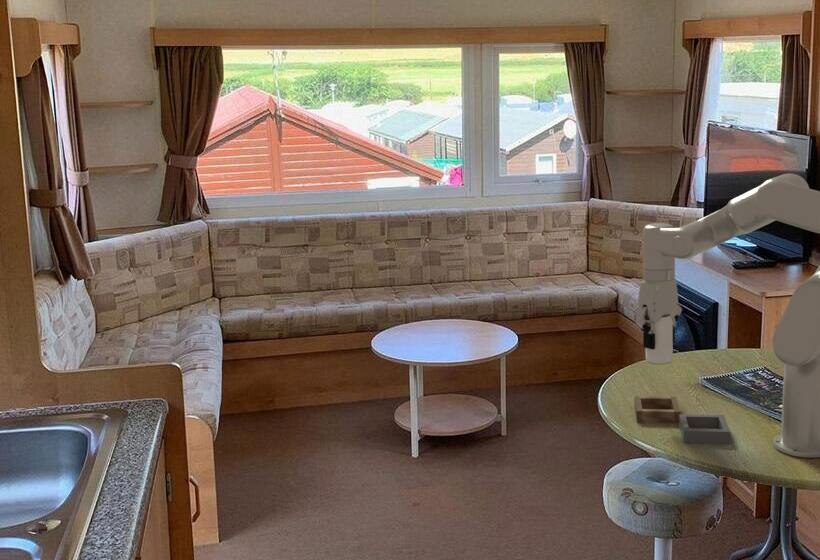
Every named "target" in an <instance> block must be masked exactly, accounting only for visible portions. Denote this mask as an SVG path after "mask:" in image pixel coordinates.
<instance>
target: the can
mask: <svg viewBox="0 0 820 560" xmlns="http://www.w3.org/2000/svg"><path fill="white" fill-rule="evenodd" d="M670 315H671V314H670ZM670 315H669V316H666V317H661V319H660V321H658V322H656V323H655V328H654V331H653V333H654V334H655V349H653V350H652V349H648V348H645V360H646V362H648V364H652V365H667V364H670V363H671V362H672V361H673V358H674V357H673V353H674V351H673V350H674V349H673V345H674V343H673V322H672V318H671V316H670ZM648 320H650V318H648ZM650 324H651V323H648V327H650Z"/></svg>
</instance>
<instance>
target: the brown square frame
mask: <svg viewBox="0 0 820 560" xmlns="http://www.w3.org/2000/svg"><path fill="white" fill-rule="evenodd" d="M633 407H634V413H635V421H636V423H645V424H646V423H647V424H649V423H650V424H651V423H654V424H679V414H681V409H680V405H679V402H678V398H677V396H657V395H656V396H652V395H651V396H649V395H647V396H646V395H645V396H644V395H643V396H641V395H635V396H634V406H633Z"/></svg>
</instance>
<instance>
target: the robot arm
mask: <svg viewBox="0 0 820 560" xmlns="http://www.w3.org/2000/svg"><path fill="white" fill-rule="evenodd" d="M775 221H777V222H781V223H783V224H787V225H790V226H793V227H797V228H800V229H803V230H806V231H809V232H813V233H816V234H820V190H816V189H812V188H810V187H809V184H808V182H807V181H806V180H805V178H803V177H802V176H800V175H798V174H795V173H783V174H781V175H778V176H775V177H772V178H769V179H767V180H765V181H764V182H763V183H761V184H760V185H758V186H757V187H754V188H752V189H750V190H748V191H746V192H744V193H743V194H740V195H739V196H736V197H734V198H732V199H730V200H729V201H728V202H727V204H726V205H725V206H724V207H722V208H721V209H718V210H716V211H714V212H712V213H710V214H709V215H706V216H704V217H702V218H700V219H697V220H696V221H693V222H690V223H688V224H687V223H686V224H685V225H683V226H679V227H674V226H673V225H672V224H671V223H663V222H654V223H648V224H646V225H644V226H643V229H642V280H641V281H640V285H639V290H638V297H637V298H638V299H637V317H636V318H635V321H634V322H635V324H636V325H637V326H638V328H639V329H640V330H641V332H642V333H643V335H642V336H643V338H642V339H643V341H642V342H643V345H642V346H643V347H644V348H645V349H646V348H648V349H652V350H653V349H655V334H654V333H653V331H654V328H655V323H656V322H658V321H660V319H661V317H666V316H669V315H670V314H671V315H670V316H671V318H672V322H673V344H674V343H675V340H676V339H675V337H676V336H675V334H676V333H675V332H676V331H675V329H676V327H677V322H678V320H679V316H680V315H681V313H682V311H683V308H682V307H681V306H680V305H679V293H678V285H677V279H676V259H679V260H681V259H682V260H687V259H688V260H689V259H692V258H693V257H696V256H698V255H700V254H702V253H705V252H707V251H709V250H710V249H713V248H716V247H717V246H719V245H721V244H724V243H726V242H728V241H730V240H732V239H735V238H736V237H739V236H741V235H747V234H750V233H751V232H754V231H756V230H759V229H760V228H762V227H764V226H767V225H769V224H771V223H773V222H775ZM648 318H650V320H648ZM648 323H651V324H650V327H648ZM771 347H772V350H773V353H774V355H775V356H776V358H777V359H778V360H779V362H781V363H782V364H784V371H783V379H782V380H783V381H782V386H783V387H782V407H781V427H780V428H781V429H780V430H781V431H780V433H779V434H777V435H776V436H774V438H773V441H772V442H773V443H772V444H773V446H774V447H775V449H777V450H778V451H780V453H784V454H787V455H790V456H793V457H796V458H797V457H798V458H806V459H807V458H808V459H810V458H811V459H813V458H814V459H815V458H820V264H819V265H818V267H817V269H816V270H815V272H814V274H812V275H811V276H810V277H809V278H807V279H805V280H804V281H803V282H801V283H800V284H799V285H798V286H797V288H796V289H795V290H794V292H793V293H792V295H791V297H790V299H789V301H788V303H787V305H786V307H785V309H784V312H783V314H782V316H781V317H780V320H779V322H778V324H777V325H776V327H775V331H774V333H773V336H772V341H771Z"/></svg>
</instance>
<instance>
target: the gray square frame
mask: <svg viewBox="0 0 820 560" xmlns="http://www.w3.org/2000/svg"><path fill="white" fill-rule="evenodd" d="M678 427H679V430H680V431H679V432H680V434H681V438H682V442H683V444H709V445H710V444H712V445H713V444H714V445H716V444H718V445H730V444H731V430H730V428H729V425H728V423H727V420H726V417H725V415H724V414H692V413H691V414H683V413H682V414H681V413H680V414H679V423H678Z"/></svg>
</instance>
